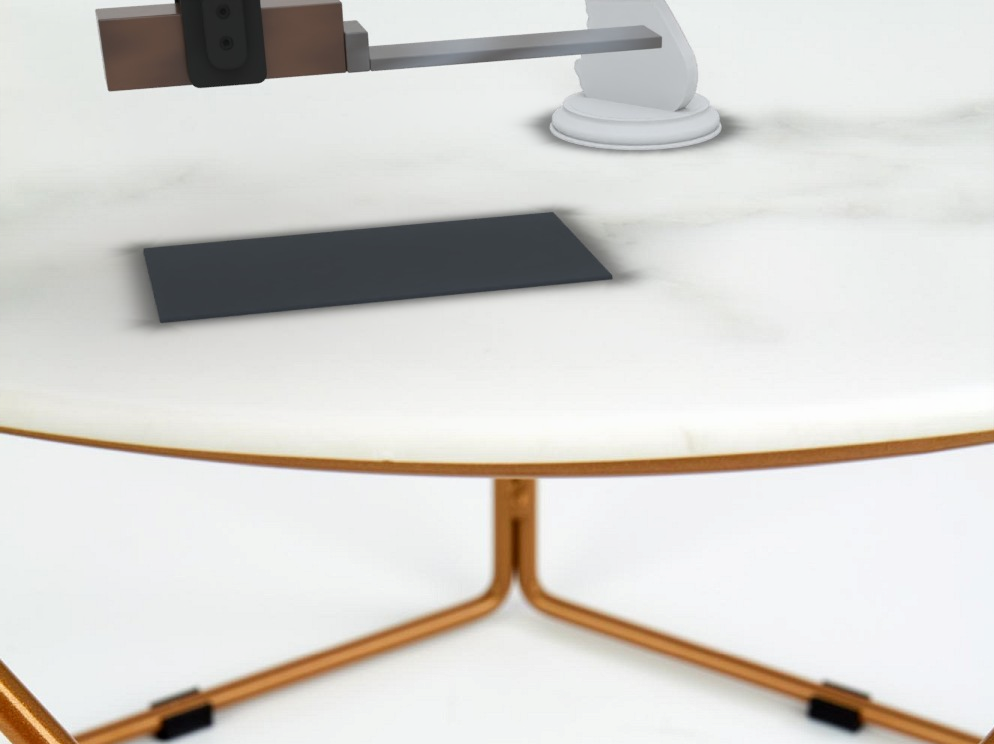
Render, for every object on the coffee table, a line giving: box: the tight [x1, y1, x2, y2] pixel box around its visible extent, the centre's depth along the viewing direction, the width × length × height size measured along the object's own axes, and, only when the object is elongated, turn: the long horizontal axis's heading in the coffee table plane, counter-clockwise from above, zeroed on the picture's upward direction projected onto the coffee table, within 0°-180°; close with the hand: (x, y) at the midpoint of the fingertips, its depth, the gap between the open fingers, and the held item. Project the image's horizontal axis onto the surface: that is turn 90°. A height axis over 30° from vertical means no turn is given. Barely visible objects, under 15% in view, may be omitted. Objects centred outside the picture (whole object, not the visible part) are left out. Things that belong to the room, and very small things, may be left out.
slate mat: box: [143, 211, 613, 324], centre depth 79 cm, size 20×10×1 cm, turn 104°
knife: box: [94, 0, 662, 93], centre depth 73 cm, size 24×3×3 cm, turn 104°
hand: (224, 71), depth 73 cm, fingers closed on knife, 2 cm apart
